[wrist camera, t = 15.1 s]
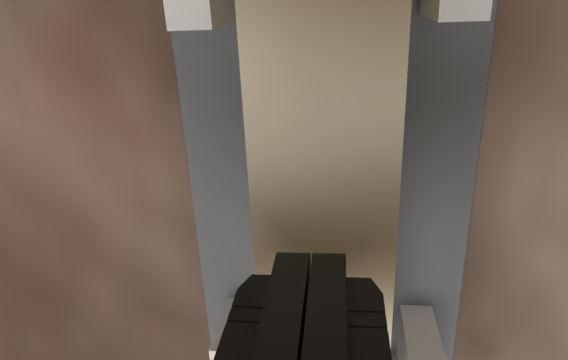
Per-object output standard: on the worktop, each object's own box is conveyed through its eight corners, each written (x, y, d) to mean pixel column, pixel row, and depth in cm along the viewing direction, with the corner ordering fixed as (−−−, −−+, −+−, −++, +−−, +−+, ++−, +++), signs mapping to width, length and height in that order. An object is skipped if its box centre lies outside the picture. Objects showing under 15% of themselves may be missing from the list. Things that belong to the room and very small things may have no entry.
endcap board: (162, -124, 14) (99, -161, 11) (506, -150, 13) (569, -202, 9) (220, 358, 22) (194, 434, 18) (443, 371, 20) (465, 456, 17)
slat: (267, -47, 14) (229, -63, 9) (391, -54, 13) (415, -73, 9) (285, 330, 19) (267, 438, 15) (375, 334, 19) (384, 448, 14)
